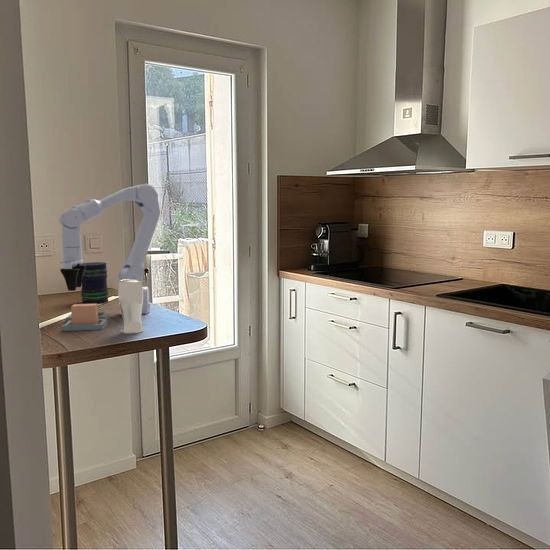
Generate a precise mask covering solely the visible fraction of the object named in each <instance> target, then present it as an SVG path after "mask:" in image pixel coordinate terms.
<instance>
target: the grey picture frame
mask: <svg viewBox="0 0 550 550" xmlns="http://www.w3.org/2000/svg"><path fill="white" fill-rule="evenodd" d="M98 320H99V324H86V325H72V321H68V322H66V323H65V324H63V325H62V332H69V331H70V332H72V331H75V332H76V331H97V330H101V331H102V330H104V329H105V328H106V327H107V325H108V324H109V322H108V318H106V319H98Z"/></svg>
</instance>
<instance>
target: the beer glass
mask: <svg viewBox="0 0 550 550" xmlns="http://www.w3.org/2000/svg"><path fill="white" fill-rule="evenodd" d="M117 282H118V287H117V288H118V289H117V292H118V295H117V297H118V304H119V308H120V312H121V313H122V315H121V316H122V317H121V318H122V327H121V333H122V334H127V335H130V334H131V335H132V334H133V335H134V334H140V333H142V332H144V328H143V323H142V315H143V314H142V306H143V287H144V286H143V282H142V280H140V279H126V280H118V281H117Z"/></svg>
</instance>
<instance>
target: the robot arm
mask: <svg viewBox="0 0 550 550" xmlns="http://www.w3.org/2000/svg"><path fill="white" fill-rule="evenodd" d="M125 201H126V202H127V201H128V202H129V201H130V202H132V201H133V202H134V203H135V204H136V205H137V206H138V207H139V208H140V210H141V211H142V213H143V217H142V219H141V221H140V225H139V228H138V230H137V234H136V236H135V239H134V242H133V245H132V248H131V250H130V254H129V256H128V258H127V260H126V261H125V262H124V265H123V267H121V269H120V270H119V271H118V275H117V276H118V281H120V280H126V279H140V280H142V283H143V282H144V270H145V264H144V263H145V259H146V256H147V253H148V252H149V251H148V250H149V249H150V245H151V242H152V239H153V236H154V234H155V231H156V227H157V225H158V221H159V219H160V216H161V210H160V208H161V207H160V203H159V194H158V192H157V190H156V189H155V187H154V186H153V185H152V184H149V183H143V184H135V185H134V186H130V187H125V188H123V189H120V190H118V191H117V192H114V193H112V194H110V195H108V196H106V197H104V198H102V199H100V200H97V199H95V198H92V199H90V198H87V199H85V202H83V203H81V204H78V205H72V206H71V209H66V210H64V211H62V213H61V214H60V217H59V223H60V224H61V231H62V232H61V237H62V238H61V239H62V240H61V241H62V242H61V243H62V255H63V260H60V261H59V263H60V264H63V265H64V268H60V269H59V271H60V273H61V274H62V276H63V278H64V281H65V285H66V288H67V290H68V291H72V292H73V291H76V290H77V288H82V278H83V273H84V270H85V268H86V265H81V264H82V263H84V259H83V250H82V247H83V245H82V232H81V225H82V223H87V222H89V221H91V220H93V219H95V218H98V217H100V216H102V214H103V211H104V210H105V209H107V208H111V207H112V206H116V205H117V204H120V203H123V202H125ZM142 287H143V306H142V314H141V315H143V314H145V315H146V314H148V313H149V312H150V310H151V309H150V307H151V304H150V290H149V287H148V286H142ZM118 315H119V316H120V315H121V316H122V313H121V311H120V312H118Z"/></svg>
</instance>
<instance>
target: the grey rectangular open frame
mask: <svg viewBox="0 0 550 550" xmlns="http://www.w3.org/2000/svg"><path fill="white" fill-rule="evenodd" d="M108 317H109V311H98V319H108ZM65 318H66V319H65V321H66V323H67V322H68V321H72V313H71V314H69V315H68V316H67V317H65Z"/></svg>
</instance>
